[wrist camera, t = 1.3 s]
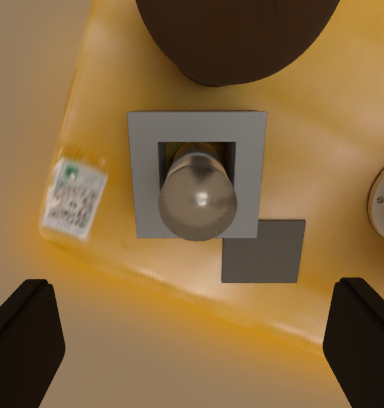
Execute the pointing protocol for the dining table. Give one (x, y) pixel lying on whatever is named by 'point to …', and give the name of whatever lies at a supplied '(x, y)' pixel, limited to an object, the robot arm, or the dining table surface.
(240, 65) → the olive oil
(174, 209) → the silver metallic cylinder
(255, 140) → the housing
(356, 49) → the dining table surface
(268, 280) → the mat
